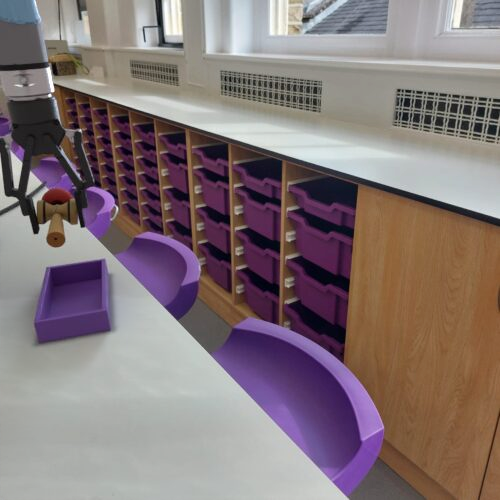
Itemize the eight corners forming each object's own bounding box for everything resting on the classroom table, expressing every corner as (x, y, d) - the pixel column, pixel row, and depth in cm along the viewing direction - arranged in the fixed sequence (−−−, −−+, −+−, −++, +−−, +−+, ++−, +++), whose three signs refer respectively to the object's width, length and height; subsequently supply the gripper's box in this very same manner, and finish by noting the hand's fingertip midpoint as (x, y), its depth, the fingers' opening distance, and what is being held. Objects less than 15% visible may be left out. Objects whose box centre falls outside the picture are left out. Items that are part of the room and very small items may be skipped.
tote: (51, 287, 100) (46, 267, 98) (109, 277, 103) (105, 258, 101) (39, 346, 81) (33, 323, 79) (111, 333, 84) (106, 310, 82)
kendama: (88, 249, 83) (84, 204, 97) (74, 218, 79) (72, 176, 94) (42, 264, 81) (45, 216, 96) (25, 233, 78) (31, 188, 92)
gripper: (-44, 105, 73) (-4, 244, 83) (95, 94, 78) (117, 227, 87) (-32, 99, 80) (3, 229, 89) (95, 90, 84) (116, 214, 94)
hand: (60, 228), depth 88 cm, fingers closed on kendama, 7 cm apart
